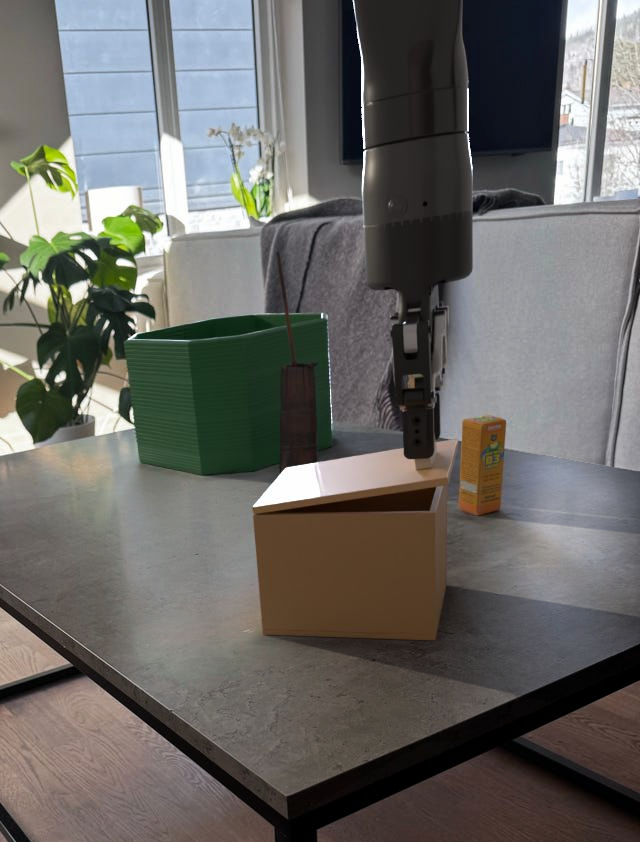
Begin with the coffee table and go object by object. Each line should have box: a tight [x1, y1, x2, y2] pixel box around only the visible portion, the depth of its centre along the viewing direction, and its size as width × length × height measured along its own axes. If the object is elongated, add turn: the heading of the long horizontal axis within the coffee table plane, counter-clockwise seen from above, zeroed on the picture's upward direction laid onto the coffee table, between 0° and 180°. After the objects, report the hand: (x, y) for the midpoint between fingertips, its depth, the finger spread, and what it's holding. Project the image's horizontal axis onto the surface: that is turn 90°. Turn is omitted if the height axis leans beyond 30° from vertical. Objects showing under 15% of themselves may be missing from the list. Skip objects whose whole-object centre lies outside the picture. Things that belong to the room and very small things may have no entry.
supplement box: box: [458, 414, 507, 516], centre depth 98 cm, size 3×3×10 cm
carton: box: [252, 485, 448, 641], centre depth 77 cm, size 14×12×10 cm
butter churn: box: [275, 251, 319, 476], centre depth 114 cm, size 9×10×28 cm
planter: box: [123, 312, 334, 476], centre depth 137 cm, size 26×26×18 cm
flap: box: [251, 433, 460, 515], centre depth 74 cm, size 15×12×5 cm
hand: (422, 447), depth 72 cm, fingers closed on flap, 5 cm apart
